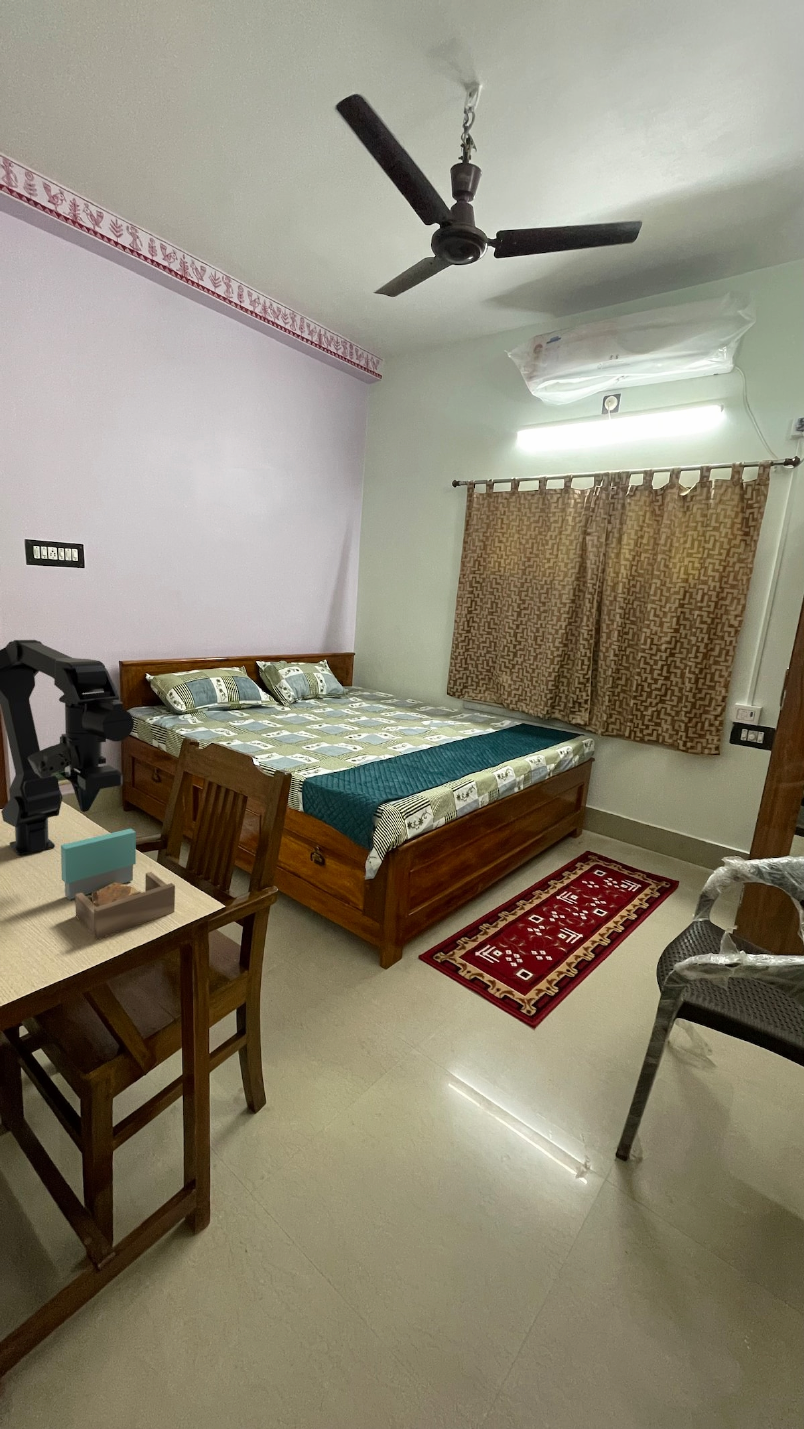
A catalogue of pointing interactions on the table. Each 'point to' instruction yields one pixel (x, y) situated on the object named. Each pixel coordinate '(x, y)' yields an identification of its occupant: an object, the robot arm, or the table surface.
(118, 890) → the shard
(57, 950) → the table surface
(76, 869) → the block
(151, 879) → the box
